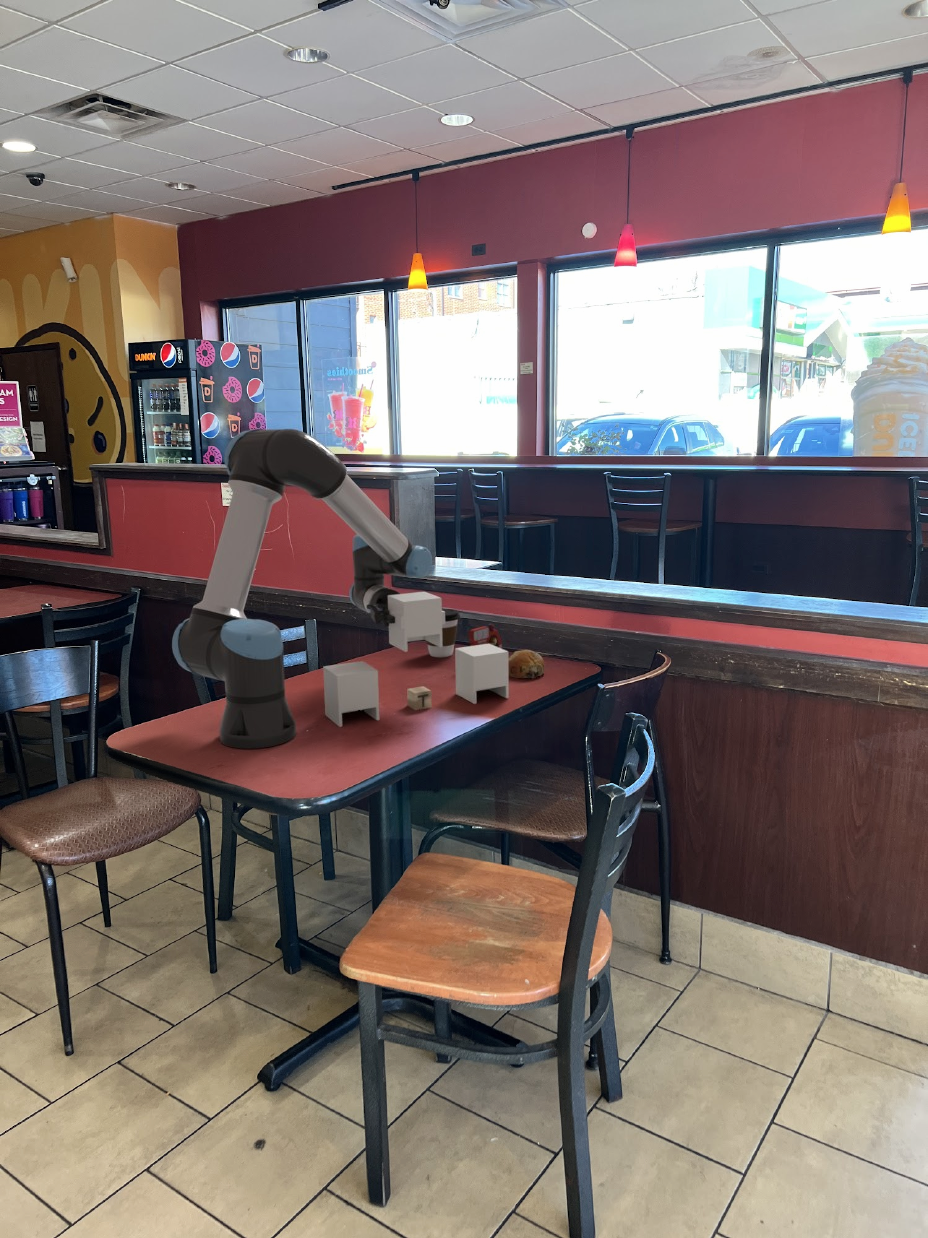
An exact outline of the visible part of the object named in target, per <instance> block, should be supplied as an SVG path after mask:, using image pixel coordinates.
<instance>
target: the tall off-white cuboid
mask: <svg viewBox="0 0 928 1238" xmlns="http://www.w3.org/2000/svg"><path fill="white" fill-rule="evenodd" d="M442 599H443V598H442V597H440V596H438V595H435V594H432V593H430V592H426V591H417V592H409V593H407V592H406V593H400V594H396V595H388V610H389V611H393V612H395V613H398V614H400V615H402V616H404V628H405V629H400V628H398V627H396V626H394V625H392V624H390V623H389V626H388V644H390V645H392V646H393V647H396V648H397V649H398V650H401V651H403V652H405V653H407V652H409V651H408V649H409V647H408V642H415V641H428V642H430V643H432V644H435V645H437V646H439V647H443V644H442V608H443V605H442V604H443V601H442Z"/></svg>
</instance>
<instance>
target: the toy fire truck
mask: <svg viewBox="0 0 928 1238" xmlns="http://www.w3.org/2000/svg"><path fill="white" fill-rule="evenodd" d="M468 640H469V646H476V645H483V644H491V645H494V646H496V647H498V648H501V649H503V648H502V647H503V646H502V645H503V644H502V643H503V642H502V640H501V637H500V633H499V631H498V630H497V629H495V625H494V624H493V623H489V624H487V626H485V625H484V626H480V627H476V628H473V629H469V632H468ZM503 650H505V649H503Z"/></svg>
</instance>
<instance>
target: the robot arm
mask: <svg viewBox="0 0 928 1238" xmlns="http://www.w3.org/2000/svg"><path fill="white" fill-rule="evenodd" d="M224 452H225V453H224V466H226V472H227V474H228V476H229V477H228V481H227V484H228V486H229V488H230V490H231V491H232V495H231V498H230V501H229V502H230V503H229V505H228V509H227V512H226V515H225V520H224V523H223V527H222V530H221V534H220V537H219V540H218V544H217V548H216V551H215V556H214V559H213V562H212V566H211V569H210V572H209V577H208V580H207V582H206V583H207V584H206V586H205V590H204V594H203V598H202V600H201V601H200V602H198V603H196V604H194V605H193V607H192V609H191V612H190V615H189V618H186V619H184V620H183V621H182V623H179V624H178V626H177V627H176V628H175V630H174V632H173V636H172V643H171V648H172V653H173V656H174V658H175V659H176V662H177V663H178V665H179V666H180V667H181V668H182V669H184V670H186V671H188V672H190V673H192V674H194V675H196V676H200V677H205V678H210V679H214V680H219V681H222V682H224V688H225V689H224V690H225V705H224V710H223V714H222V718H221V721H220V724H219V741H220V743H221V744H223V745H224V746H227V747H230V748H235V749H247V750H249V749H250V750H252V749H265V748H269V747H274V746H278V745H282V744H284V743H287V742H289V741H291V740H292V739H294V737H295V736H296V734H297V725H296V720H295V718H294V716H293V713H292V710H291V709H290V706H289V703H288V701H287V699H286V687H285V685H286V684H285V663H284V662H285V661H284V659H285V658H284V643H283V638H282V633H281V630H280V628H279V627H278V626H277V625H276V624H274V623H272V622H269V621H267V620H262V619H252V618H248V617H247V616H246V615H245V612H244V609H245V607H246V603H247V599H248V595H249V591H250V588H251V585H252V580H253V576H254V573H255V570H256V566H257V563H258V559H259V555H260V551H261V547H262V543H263V540H264V537H265V532H266V529H267V526H268V522H269V518H270V515H271V511H272V507H273V505H274V504H276V503H277V502H279V501H281V500H282V499H283V495H284V491H285V488H286V486H293V487H296V488H298V489H299V488H300V489H302V490H303V491H306V492H307V493H308V494H309V495H310V496H311V497H312V498H313V499H315V500H322V501H323V502H324V503H325V504H326V505H327V506H328V507H329V508H330V509H331V510H332V511H333V512H334V513H336V515H338V516H339V518H340V519H341V520H342V521H344V522H345V524H346V525H347V526H349V528H350V529H351V530H352V531H353V532H354V533H356V534H355V535H354V536H353V538H352V562H353V563H352V565H353V567H352V568H353V584H352V585H351V587H350V588H349V592H348V593H349V594H348V595H349V599H350V602H351V603H352V604H353V605H354V606H355V607H356V608H357V609H358V610H361V611H363V612H366V616H367V617H370V618H371V620H372V621H373V622H374V623H375V624H376V625H377V624H378V625H379V624H381V622H383V627H389V623H390V624H392V625H394V626H396V627H398V628H400V629H405V628H404V616H402V615H400V614H398V613H395V612H393V611H389V610H388V595H396V594H401V593H400V592H399V591H397V590H394V589H392V588H390V587H388V586H385V575H390V576H396V577H403V578H404V577H405V578H409V579H412V578H413V579H414V578H415V579H417V578H418V579H422V578H424V577H426V576H427V575H428V574H429V572H430V571H431V568H432V565H433V557H432V554H431V551H430V550H429V548H427V547H425V546H421V545H417V544H416V545H414V544H413V543H412V542H411V541H410V540H409V539H408V538H407V537H406V536H405V535H404V533H402V532H401V530H400V529H398V528H397V526H396V525H395V524H394V523H393V522H392V521H391V520H390V519H389V518H388V517H387V516H386V515H385V513H384V512H383V511H381V509H380V508H379V507H378V506H377V505H376V504H375V503H374V501H372V499H370V497H368V495H367V494H366V493H365V492H364V490H362V489H361V488H360V487H359V486H358V485H357V484H356V482H354V480H352V478H351V477H350V476H349V475H348V469H347V467H346V465H345V464H344V463H343V462H342V461H341V459H340V458H339V457H338V456H337V455H336V454H334V453H333V452H332V451H331V450H330V449H329V448H328V447H327V446H326V445H324V444H323V443H322V442H321V441H319V440H318V439H316V438H315V437H314V436H312V435H310V434H308V433H306V432H304V431H302V430H298V429H295V428H282V429H281V428H280V429H275V428H274V429H264V428H255V429H250V430H244V431H241V432H239V433H237V434H236V435H234V437H232V439H231V440H230V441H229V442H228V445H227V447H226V449H225V451H224ZM442 624H445V611H442Z"/></svg>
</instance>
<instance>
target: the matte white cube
mask: <svg viewBox="0 0 928 1238" xmlns="http://www.w3.org/2000/svg"><path fill="white" fill-rule="evenodd" d="M322 669H323V670H322V671H323V689H324V690H323V691H324V706H325V707H324V711H325V713H324V714H325V716H326V717H327V718H328V719H329V720H331V721H332V722H333V723H334V724H335V725H337V726H338V727H339V728H340V727H343V714H346V713H347V714H348V713H351V712H352V713H353V712H358V710H360V711H363V710H364V713H366V714H367V715H369V716H370V717H371V718H373V719H374V720H376V721H380V698H379V697H380V695H379V671H378V670H377V669H376V668H374V667H373V666H371V665H370V664H368V663H366V662H365V661H363V660H361V661H353V662H347V663H346V662H345V663H339V664H332V665H325V666H324V665H323V667H322Z"/></svg>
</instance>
